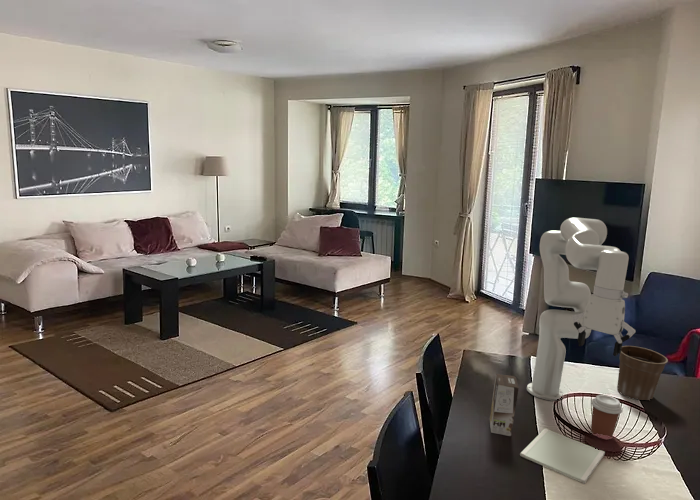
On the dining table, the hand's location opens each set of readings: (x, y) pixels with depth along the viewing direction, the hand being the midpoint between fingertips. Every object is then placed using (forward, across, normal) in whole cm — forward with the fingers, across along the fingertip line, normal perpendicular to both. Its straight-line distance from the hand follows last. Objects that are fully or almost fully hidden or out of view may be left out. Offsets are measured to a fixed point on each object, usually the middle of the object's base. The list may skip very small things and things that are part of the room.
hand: (598, 350), depth 159 cm
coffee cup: (+31, -2, -14) cm, 34 cm away
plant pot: (+30, -2, -57) cm, 64 cm away
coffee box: (+31, +23, +8) cm, 39 cm away
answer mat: (+31, +3, +8) cm, 32 cm away
